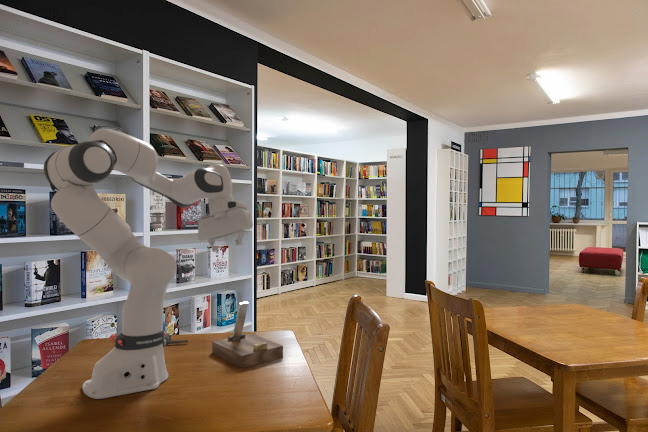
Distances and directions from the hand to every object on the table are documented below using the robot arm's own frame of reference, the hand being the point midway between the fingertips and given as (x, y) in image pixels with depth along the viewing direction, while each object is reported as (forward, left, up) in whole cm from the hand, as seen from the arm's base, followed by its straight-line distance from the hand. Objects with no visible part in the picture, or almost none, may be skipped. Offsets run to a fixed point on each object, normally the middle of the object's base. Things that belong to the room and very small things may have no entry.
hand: (227, 248), depth 148 cm
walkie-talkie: (-11, +30, -38) cm, 49 cm away
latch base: (+6, -3, -37) cm, 38 cm away
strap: (+6, +1, -26) cm, 27 cm away
